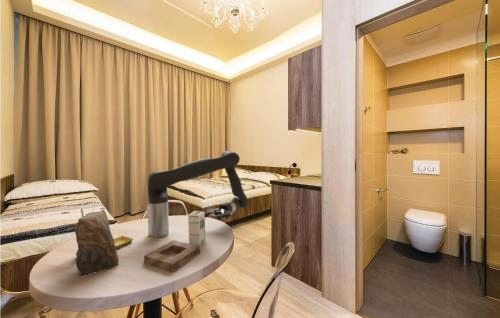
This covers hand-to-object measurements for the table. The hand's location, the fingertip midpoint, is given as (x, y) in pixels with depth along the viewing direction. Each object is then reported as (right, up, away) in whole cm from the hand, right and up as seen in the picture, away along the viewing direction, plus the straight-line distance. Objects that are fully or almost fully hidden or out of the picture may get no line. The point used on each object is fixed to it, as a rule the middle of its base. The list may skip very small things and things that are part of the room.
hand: (211, 216), depth 107 cm
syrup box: (-5, -10, -10) cm, 15 cm away
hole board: (-11, -10, -23) cm, 28 cm away
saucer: (-41, -11, -10) cm, 44 cm away
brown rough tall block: (-37, -11, -29) cm, 48 cm away
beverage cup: (-49, -11, -20) cm, 54 cm away
